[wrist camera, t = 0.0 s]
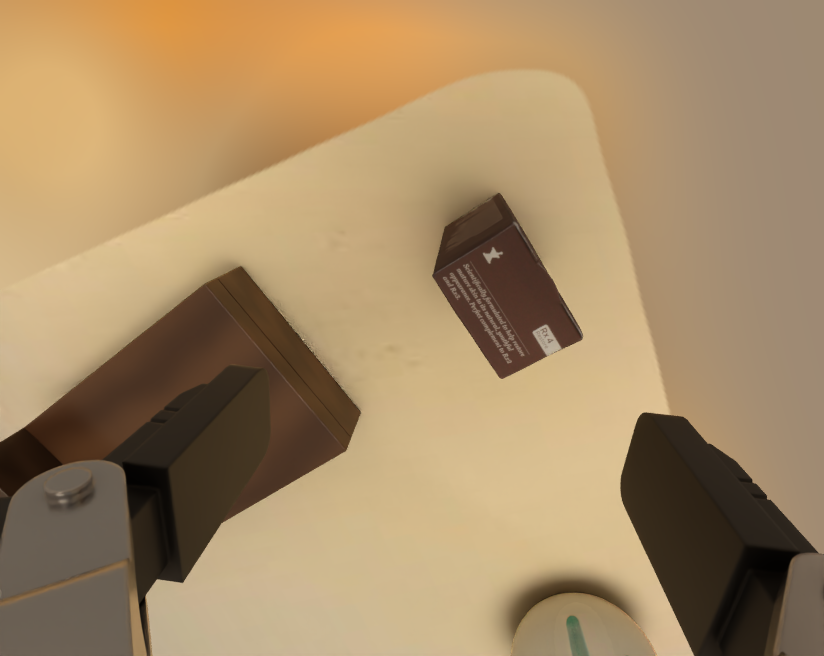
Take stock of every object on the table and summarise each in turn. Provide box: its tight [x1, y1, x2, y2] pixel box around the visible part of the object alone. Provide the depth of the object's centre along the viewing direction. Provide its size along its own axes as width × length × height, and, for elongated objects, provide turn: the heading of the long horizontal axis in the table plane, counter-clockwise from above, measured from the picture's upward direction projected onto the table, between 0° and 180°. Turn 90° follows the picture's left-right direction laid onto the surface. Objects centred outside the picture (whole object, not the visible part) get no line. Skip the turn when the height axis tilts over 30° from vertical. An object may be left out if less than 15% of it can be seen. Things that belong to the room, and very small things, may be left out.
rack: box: [0, 266, 360, 523], centre depth 33 cm, size 14×20×9 cm
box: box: [432, 193, 583, 379], centre depth 25 cm, size 6×4×12 cm
